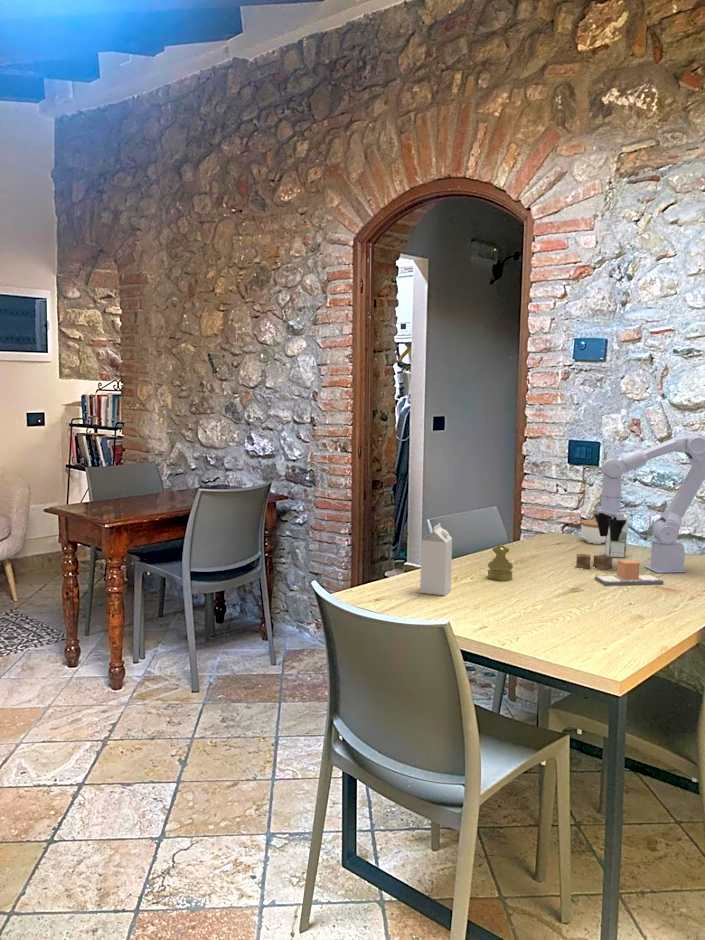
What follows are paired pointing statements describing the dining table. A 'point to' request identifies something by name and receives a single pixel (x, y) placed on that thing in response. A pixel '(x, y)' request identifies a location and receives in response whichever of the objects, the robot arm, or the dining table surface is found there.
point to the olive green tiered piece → (500, 565)
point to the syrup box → (617, 543)
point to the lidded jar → (591, 532)
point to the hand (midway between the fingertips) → (608, 538)
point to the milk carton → (436, 562)
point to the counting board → (618, 581)
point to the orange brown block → (628, 570)
